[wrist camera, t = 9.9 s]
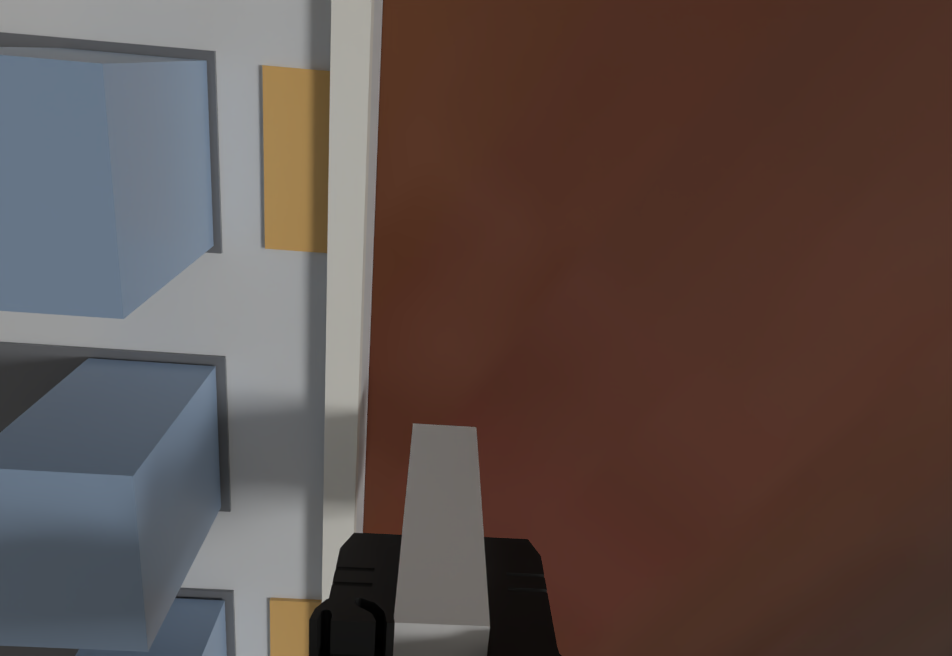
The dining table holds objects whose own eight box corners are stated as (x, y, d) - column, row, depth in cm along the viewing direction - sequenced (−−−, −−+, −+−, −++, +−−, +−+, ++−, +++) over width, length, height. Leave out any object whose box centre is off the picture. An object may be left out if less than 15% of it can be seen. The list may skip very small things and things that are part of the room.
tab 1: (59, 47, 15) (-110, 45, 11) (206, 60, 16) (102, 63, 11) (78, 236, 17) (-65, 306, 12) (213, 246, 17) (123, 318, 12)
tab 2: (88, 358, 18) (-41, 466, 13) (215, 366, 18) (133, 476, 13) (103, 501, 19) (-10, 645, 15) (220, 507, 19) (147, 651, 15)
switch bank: (-408, -120, 16) (-561, -151, 14) (384, -43, 17) (373, -59, 15) (-177, 698, 24) (-248, 771, 21) (355, 717, 25) (345, 789, 22)
